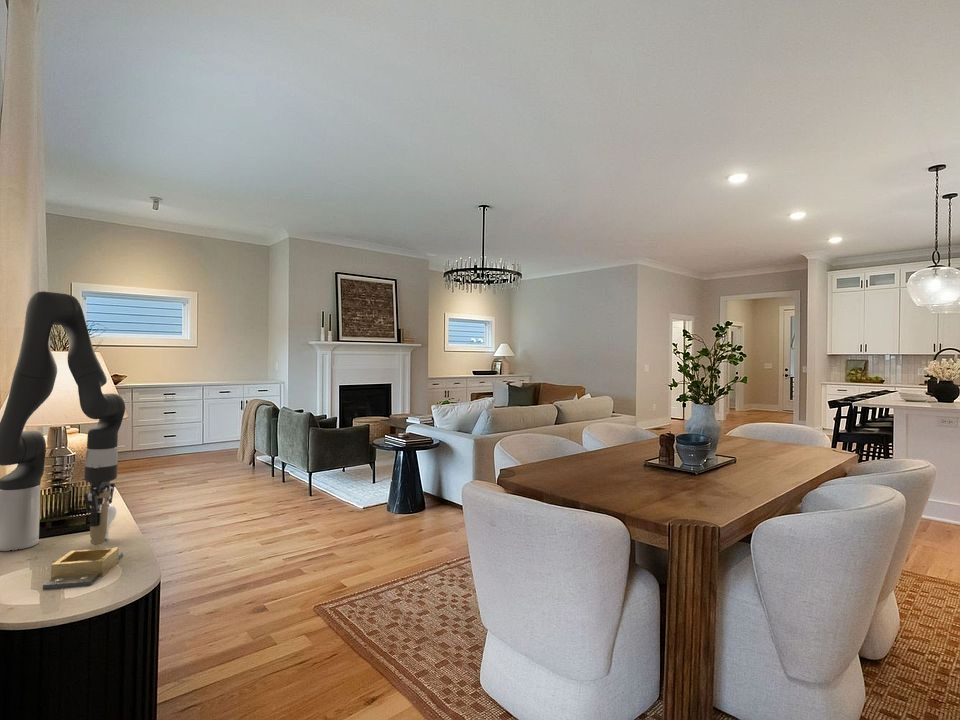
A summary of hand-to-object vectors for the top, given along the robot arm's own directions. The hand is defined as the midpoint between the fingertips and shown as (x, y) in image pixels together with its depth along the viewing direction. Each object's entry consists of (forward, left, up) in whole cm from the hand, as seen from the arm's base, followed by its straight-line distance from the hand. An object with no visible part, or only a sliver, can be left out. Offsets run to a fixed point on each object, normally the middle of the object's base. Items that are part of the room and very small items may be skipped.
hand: (98, 523), depth 146 cm
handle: (0, 0, -6) cm, 6 cm away
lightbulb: (-3, +11, -8) cm, 14 cm away
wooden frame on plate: (+3, -15, -8) cm, 18 cm away
